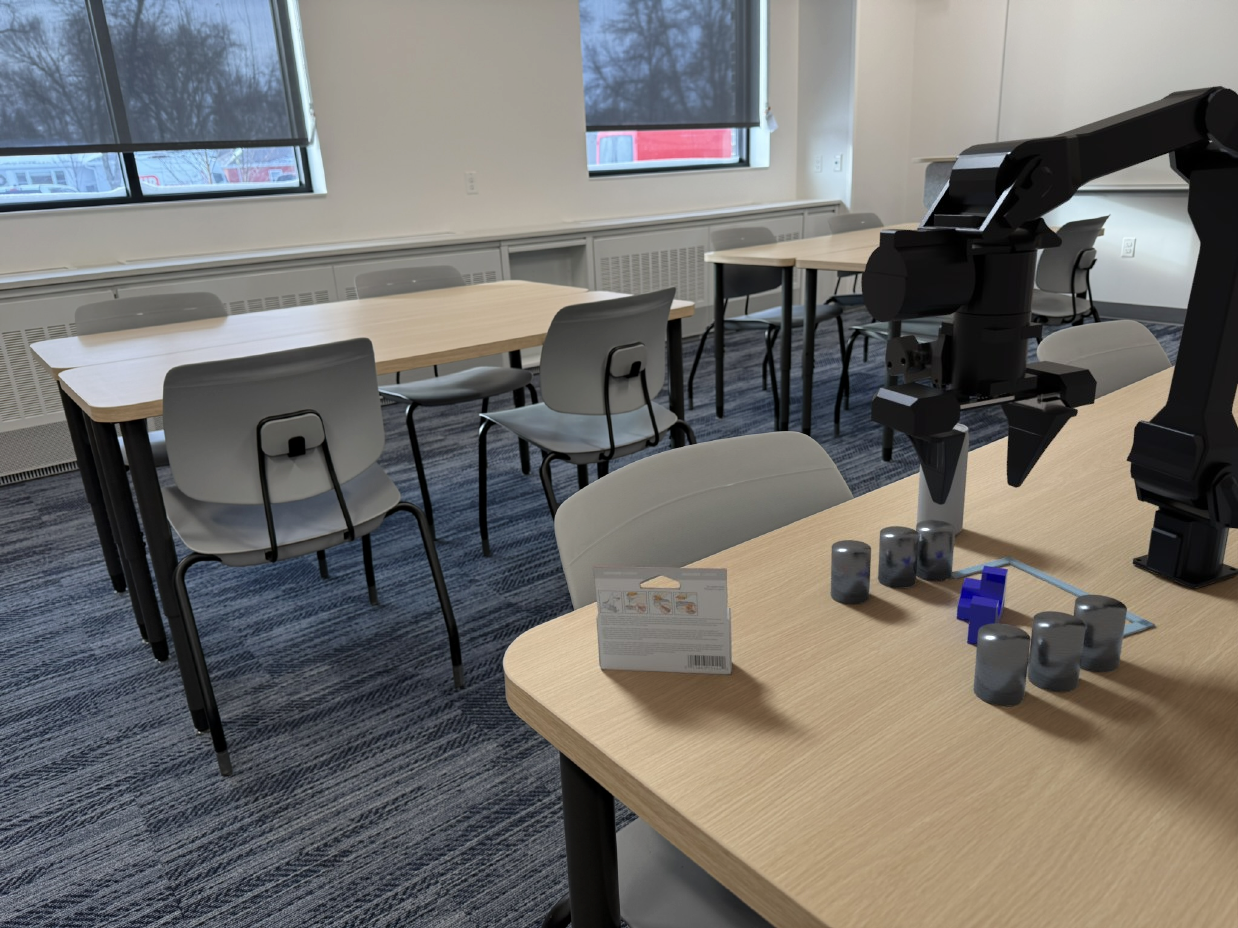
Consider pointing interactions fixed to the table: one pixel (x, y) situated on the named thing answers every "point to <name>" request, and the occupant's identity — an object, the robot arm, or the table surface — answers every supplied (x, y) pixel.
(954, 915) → the table surface
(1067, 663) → the spacers
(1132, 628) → the taped bay
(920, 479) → the beverage can
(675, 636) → the ink cartridge box
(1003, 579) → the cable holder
